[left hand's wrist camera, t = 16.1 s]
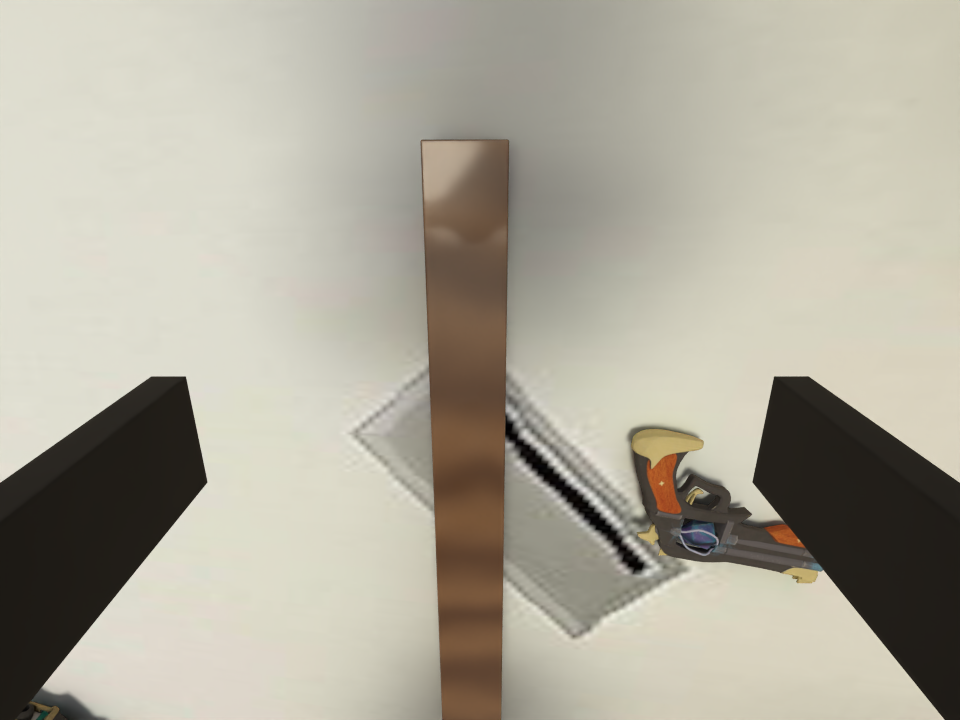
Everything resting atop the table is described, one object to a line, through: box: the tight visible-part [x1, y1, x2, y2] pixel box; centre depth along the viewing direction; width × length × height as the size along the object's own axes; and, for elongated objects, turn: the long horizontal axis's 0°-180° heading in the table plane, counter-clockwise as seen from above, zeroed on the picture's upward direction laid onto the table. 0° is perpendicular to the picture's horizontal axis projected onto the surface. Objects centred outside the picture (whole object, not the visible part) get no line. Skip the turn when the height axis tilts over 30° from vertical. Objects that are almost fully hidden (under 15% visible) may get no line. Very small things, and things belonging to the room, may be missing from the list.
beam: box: [421, 140, 509, 720], centre depth 40 cm, size 51×4×7 cm, turn 0°
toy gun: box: [631, 429, 823, 583], centre depth 43 cm, size 3×19×10 cm
